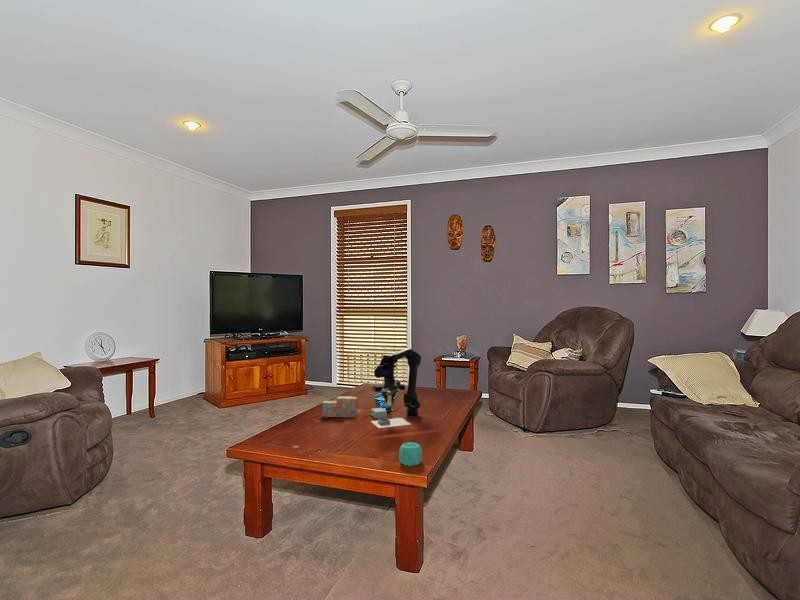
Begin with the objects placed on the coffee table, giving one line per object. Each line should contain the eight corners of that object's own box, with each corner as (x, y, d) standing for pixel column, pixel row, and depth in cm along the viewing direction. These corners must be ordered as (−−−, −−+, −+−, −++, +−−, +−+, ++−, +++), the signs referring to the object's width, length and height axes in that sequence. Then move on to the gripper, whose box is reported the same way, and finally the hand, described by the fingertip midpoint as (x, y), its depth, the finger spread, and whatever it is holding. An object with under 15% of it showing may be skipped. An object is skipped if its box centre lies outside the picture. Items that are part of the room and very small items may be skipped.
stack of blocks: (322, 417, 273) (322, 398, 273) (324, 415, 279) (324, 395, 279) (355, 418, 271) (355, 398, 271) (357, 415, 277) (357, 396, 277)
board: (401, 420, 266) (401, 414, 266) (411, 426, 252) (411, 420, 252) (370, 423, 259) (370, 417, 259) (378, 430, 245) (378, 424, 245)
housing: (382, 416, 275) (382, 407, 275) (386, 420, 267) (386, 411, 267) (371, 417, 272) (371, 408, 272) (375, 421, 264) (375, 412, 264)
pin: (390, 404, 257) (390, 391, 257) (392, 405, 254) (392, 392, 254) (385, 405, 255) (385, 391, 256) (387, 406, 253) (387, 392, 253)
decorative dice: (415, 467, 191) (415, 449, 191) (398, 464, 194) (398, 446, 194) (422, 461, 198) (422, 443, 198) (406, 458, 201) (406, 441, 201)
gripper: (378, 378, 244) (378, 406, 244) (409, 377, 251) (408, 404, 251) (372, 375, 254) (372, 402, 254) (401, 374, 261) (401, 400, 261)
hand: (388, 402), depth 255 cm, fingers closed on pin, 3 cm apart
